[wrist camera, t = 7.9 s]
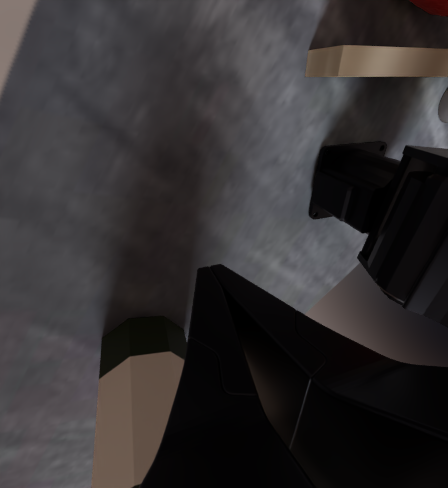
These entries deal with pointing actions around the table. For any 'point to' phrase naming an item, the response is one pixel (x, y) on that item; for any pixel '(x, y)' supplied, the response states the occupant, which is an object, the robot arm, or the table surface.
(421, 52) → the frame
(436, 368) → the robot arm
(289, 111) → the table surface
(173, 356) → the wine bottle
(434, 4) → the pomegranate
